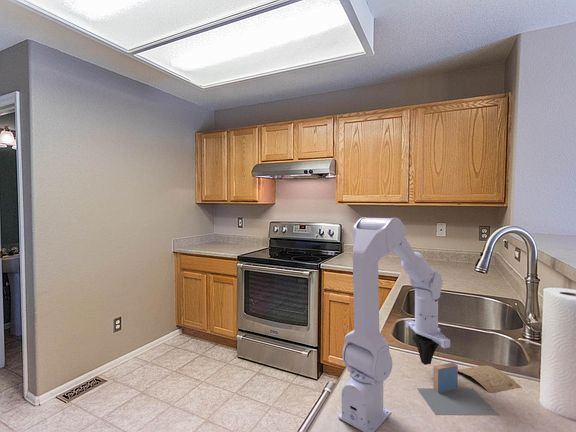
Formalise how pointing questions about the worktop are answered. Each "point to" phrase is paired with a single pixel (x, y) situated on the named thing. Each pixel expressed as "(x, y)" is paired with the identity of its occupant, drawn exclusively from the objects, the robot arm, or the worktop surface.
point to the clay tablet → (491, 378)
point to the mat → (456, 402)
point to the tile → (445, 377)
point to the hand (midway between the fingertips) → (426, 363)
